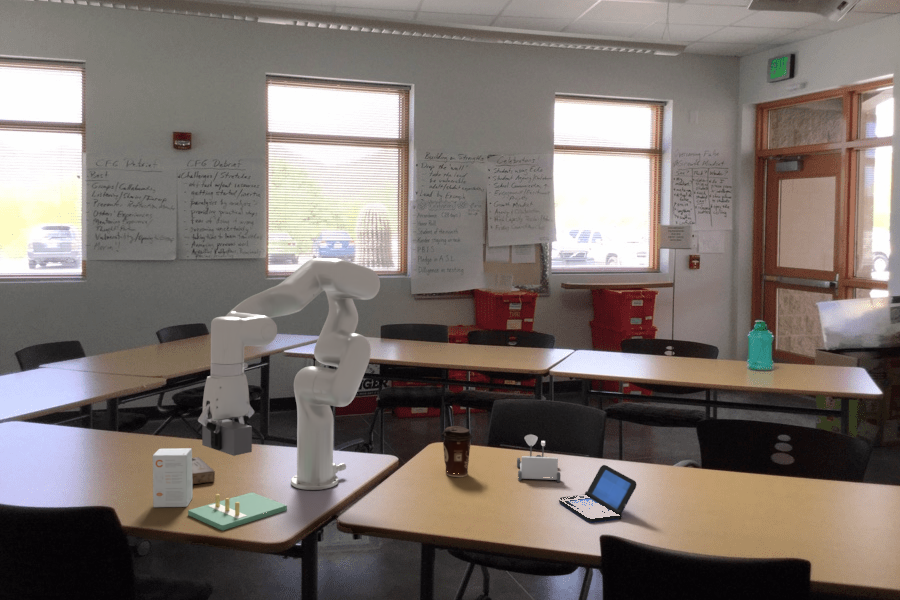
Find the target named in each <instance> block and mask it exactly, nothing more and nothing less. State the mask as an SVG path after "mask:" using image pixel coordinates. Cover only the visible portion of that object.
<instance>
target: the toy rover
mask: <svg viewBox="0 0 900 600" xmlns="http://www.w3.org/2000/svg"><path fill="white" fill-rule="evenodd" d="M538 438H539V437H538V436H537V435H534V434H532V433H530V434H527V435H525V436H524V441H525V442H526V444H527V445H528V446H529V448H530V449H529V455H526V456H525V455H522V456H521V458H520V457H517V458H516V467H517V469H518V473H517V480H518V482H521V481H522V479H525V480H526V479H529V480H550V481H552V480H553V481H554V480H555V481H556V483H560V484H561V472H560V471H558V470H559V469H558V468H559V458H558V457H553V456H552V457H548V456H545V455H544V454H545V453H544V452H545V451H544V450H545V449H544V448H545V447H546V440H541V442H540V445H541V446H542V447H541V449H542V450H541V453H542V454H541V455H540V454H537V455H532V453H533V452H532V448H533V446H534V445H536V443H537V441H538ZM518 477H519V478H518ZM543 477H550V478H543ZM552 477H553V478H552Z"/></svg>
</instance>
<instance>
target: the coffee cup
mask: <svg viewBox="0 0 900 600" xmlns="http://www.w3.org/2000/svg"><path fill="white" fill-rule="evenodd" d="M441 435H442V437H443V439H444V440H443V443H442V445H443V447H442V448H443V456H444V464H445V475H447V476H449V477H454V478H464V477H467V476H468V474H469V471H468V470H469V461H470V451H471V439H472V438H473V435H472V433H471V432H470V429H469V428H466V427H464V426H459V425H458V426H453V425H452V426H451V425H450V426H447V427H446V428H445V429H444V430H443V431H442V433H441ZM447 471H448V472H447ZM453 473H455V474H453ZM458 473H459V474H458Z"/></svg>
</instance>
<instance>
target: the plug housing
mask: <svg viewBox="0 0 900 600" xmlns="http://www.w3.org/2000/svg"><path fill="white" fill-rule="evenodd" d="M207 420H208V421H209V422H210V420H211V418H207ZM201 425H202V428H201V429H202V438H201V439H202V442H201V443H202V446H204V447H207V448H210V449H213V448H212V447H211V432H210V431H209V430H208V429H207V428H206V427H205V426H204V425H203V424H201ZM219 433H221V434H222V438H221V450H216V449H213V450H215V451H219V452H221V453H224V454H227V455H231V456H233V457H235V456H238V455H244V454H250V453H253V452H252V451H253V450H252V449H253V448H252V447H253V426H252V425H248V424H247V423H246V424H242V423H239V422H235V421H233V419H232V420H231V419H225V420H222V423H221V427H220V431H219Z"/></svg>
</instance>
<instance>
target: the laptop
mask: <svg viewBox="0 0 900 600" xmlns="http://www.w3.org/2000/svg"><path fill="white" fill-rule="evenodd" d="M636 488H637V482H636V480H634V479H633V478H630V477H628V476H627V475H625V474H623V473H621V472H619V471H617V470H615V469H613V468H612V467H609V466H608V465H606V464H602V465H601V466H600V467H599V469H598V471H597V473H596V475H595V476H594V479H593V480H592V482H591V483H590V485H589V487H588V489H587V491H585V493H584V495H587V496H588V497H590V498H585V499H578V500H580V502H581V501H583V500H584V501H585V500H586V501H587V502H588V501H589V500H592V502H593V501H594V502H595V503H599V504H600V505H602V506H605V507H606V508H607V509H608V511H609V510H612V511H613V512H615V513H616V514H619V515H620V516H610V517H603V518H595V519H590V518H587V517H585V516H584V515H582V514H581V513H579V512H578V511H576V510H574V509H573V508H571V507H570V506H568V505H567V504H569V505H571V506H574V505H573V504H571V503H570V502H571V501H575V502H576V501H577V500H570V502H569V501H565V502H566V503H567V504H565V503H564V502H562V501H560V500H559V499H558V503H559V504H561V505H562V506H563V507H565V508H567V510H569V511H571V513H573V514H575V515H577V516H578V517H579V518H581V519H582V520H584V521H585V522H587V523H591V524H594V523H600V522H609V521H618V520H619V521H620V520H622V518H623V517H622V516H623V515H621V514H622V513H623V512H624V510H625V508H626V506H627V504H628V503H629V501H630V499H631V497H632V496H633V493H634V491H636ZM578 495H579V494H578ZM578 495H572V496H573V497H570V495H569V496H562V497H559V498H560V499H561V500H562V498H563V499H564V498H566V497H567V498H568V497H570V498H568V499H574V498H576V497H577V496H578ZM575 496H576V497H575ZM579 497H580V498H584V496H579ZM567 498H566V499H567ZM564 500H565V499H564ZM575 502H574V503H575ZM578 502H579V501H578ZM578 502H576V503H578ZM572 503H573V502H572ZM582 503H583V502H582ZM584 503H585V502H584ZM589 503H590V502H589ZM586 504H587V503H586ZM592 504H593V503H592ZM592 504H591V505H592ZM582 505H583V504H582ZM584 505H585V504H584ZM589 505H590V504H589ZM585 506H586V505H585ZM592 506H593V505H592ZM574 507H576V506H574ZM577 509H579V508H577ZM589 509H590V508H589ZM582 512H583V511H582ZM602 512H603V511H602ZM604 513H605V512H604Z"/></svg>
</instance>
